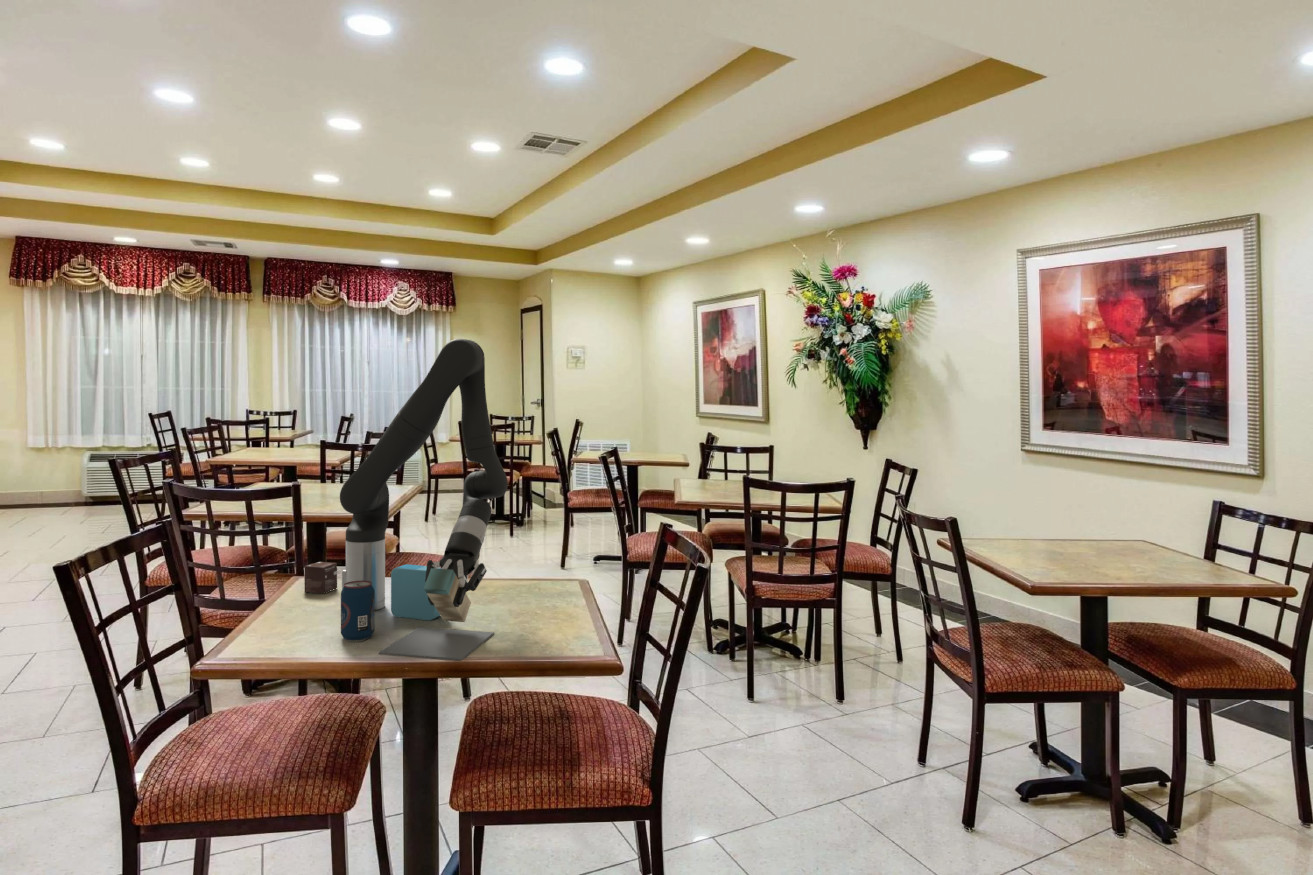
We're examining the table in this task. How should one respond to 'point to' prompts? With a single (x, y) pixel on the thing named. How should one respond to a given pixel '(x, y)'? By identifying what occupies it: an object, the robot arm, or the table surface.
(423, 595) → the data package
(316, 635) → the table surface
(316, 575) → the box
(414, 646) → the rubber mat
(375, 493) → the robot arm
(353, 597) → the soda can
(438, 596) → the birch block
